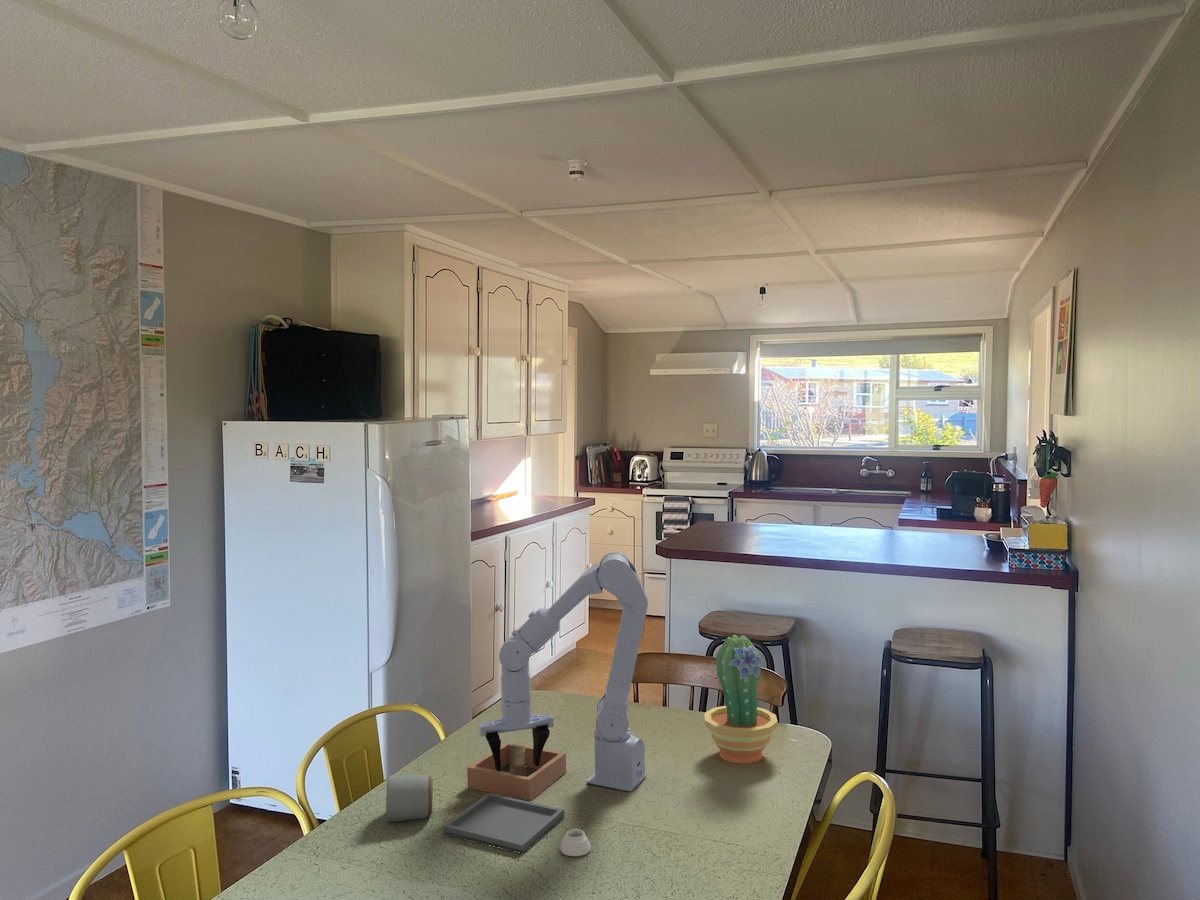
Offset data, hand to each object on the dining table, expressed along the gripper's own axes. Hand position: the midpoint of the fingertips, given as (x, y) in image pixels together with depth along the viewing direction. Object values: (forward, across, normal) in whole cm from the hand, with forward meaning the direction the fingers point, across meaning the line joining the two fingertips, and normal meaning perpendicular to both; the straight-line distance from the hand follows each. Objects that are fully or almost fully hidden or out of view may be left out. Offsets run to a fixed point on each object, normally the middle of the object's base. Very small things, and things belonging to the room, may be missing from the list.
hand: (517, 766), depth 167 cm
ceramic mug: (+3, +22, +7) cm, 23 cm away
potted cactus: (+3, -47, +4) cm, 47 cm away
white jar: (+3, -3, +30) cm, 30 cm away
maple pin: (+3, 0, 0) cm, 3 cm away
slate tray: (+3, +6, +18) cm, 19 cm away
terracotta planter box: (+3, 0, 0) cm, 3 cm away
